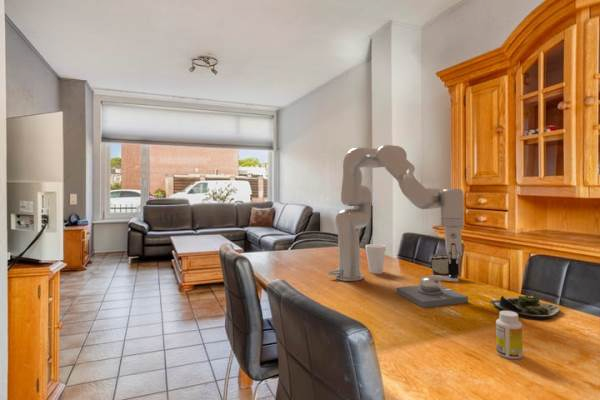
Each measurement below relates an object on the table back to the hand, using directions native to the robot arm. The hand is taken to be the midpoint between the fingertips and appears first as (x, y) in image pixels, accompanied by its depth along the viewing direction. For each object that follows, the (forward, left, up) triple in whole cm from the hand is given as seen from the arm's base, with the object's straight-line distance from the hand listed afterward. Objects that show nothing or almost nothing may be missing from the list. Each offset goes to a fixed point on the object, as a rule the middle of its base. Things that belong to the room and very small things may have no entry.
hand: (453, 273), depth 129 cm
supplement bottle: (-14, -40, -10) cm, 44 cm away
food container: (+16, +29, -10) cm, 35 cm away
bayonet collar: (-4, +3, -7) cm, 8 cm away
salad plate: (+15, -16, -10) cm, 24 cm away
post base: (-6, +5, -10) cm, 12 cm away
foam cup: (-8, +47, -10) cm, 49 cm away
